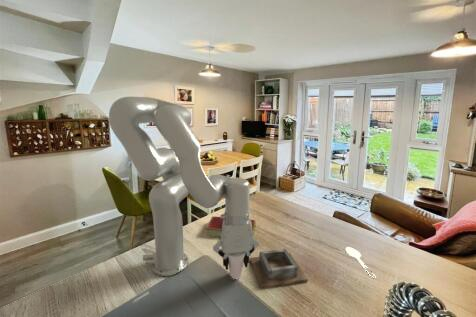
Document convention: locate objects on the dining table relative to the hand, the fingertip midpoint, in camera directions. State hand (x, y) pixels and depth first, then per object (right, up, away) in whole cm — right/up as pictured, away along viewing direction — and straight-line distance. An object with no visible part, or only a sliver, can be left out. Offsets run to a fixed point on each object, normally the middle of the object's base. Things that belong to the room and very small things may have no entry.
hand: (235, 265), depth 79 cm
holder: (+15, -4, +4) cm, 15 cm away
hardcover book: (-2, +2, +29) cm, 29 cm away
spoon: (+47, -4, +10) cm, 48 cm away
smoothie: (0, -4, +1) cm, 4 cm away
